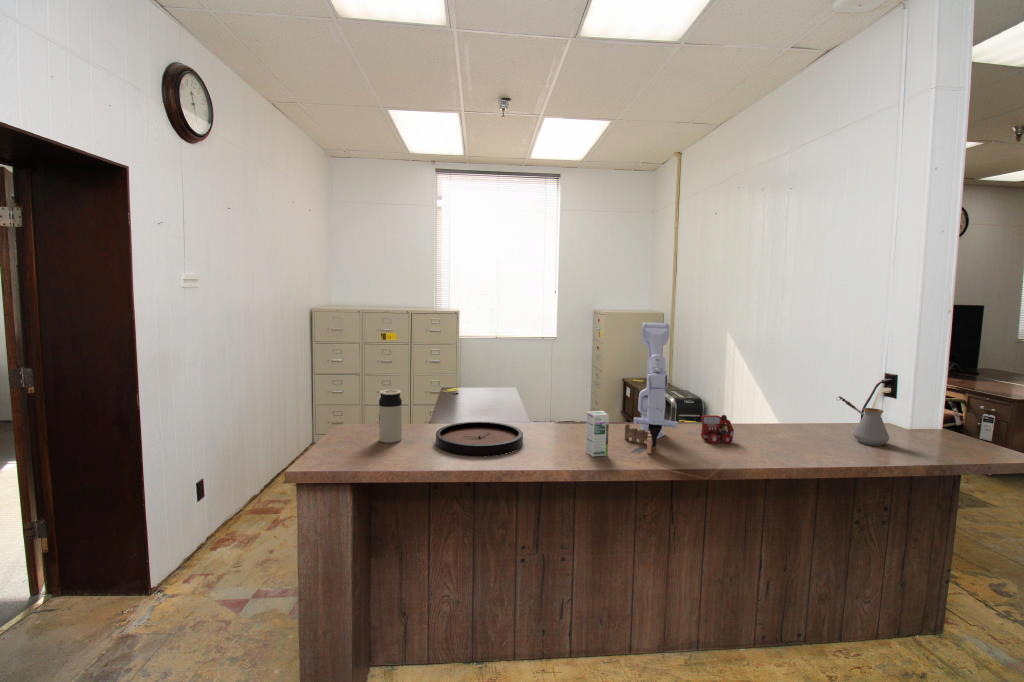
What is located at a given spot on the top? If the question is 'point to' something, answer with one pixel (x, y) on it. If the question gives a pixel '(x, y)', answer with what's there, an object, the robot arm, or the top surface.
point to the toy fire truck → (716, 429)
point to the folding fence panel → (649, 442)
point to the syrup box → (597, 433)
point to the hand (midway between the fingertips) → (654, 446)
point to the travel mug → (390, 416)
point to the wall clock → (479, 439)
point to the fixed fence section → (635, 434)
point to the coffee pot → (870, 426)
